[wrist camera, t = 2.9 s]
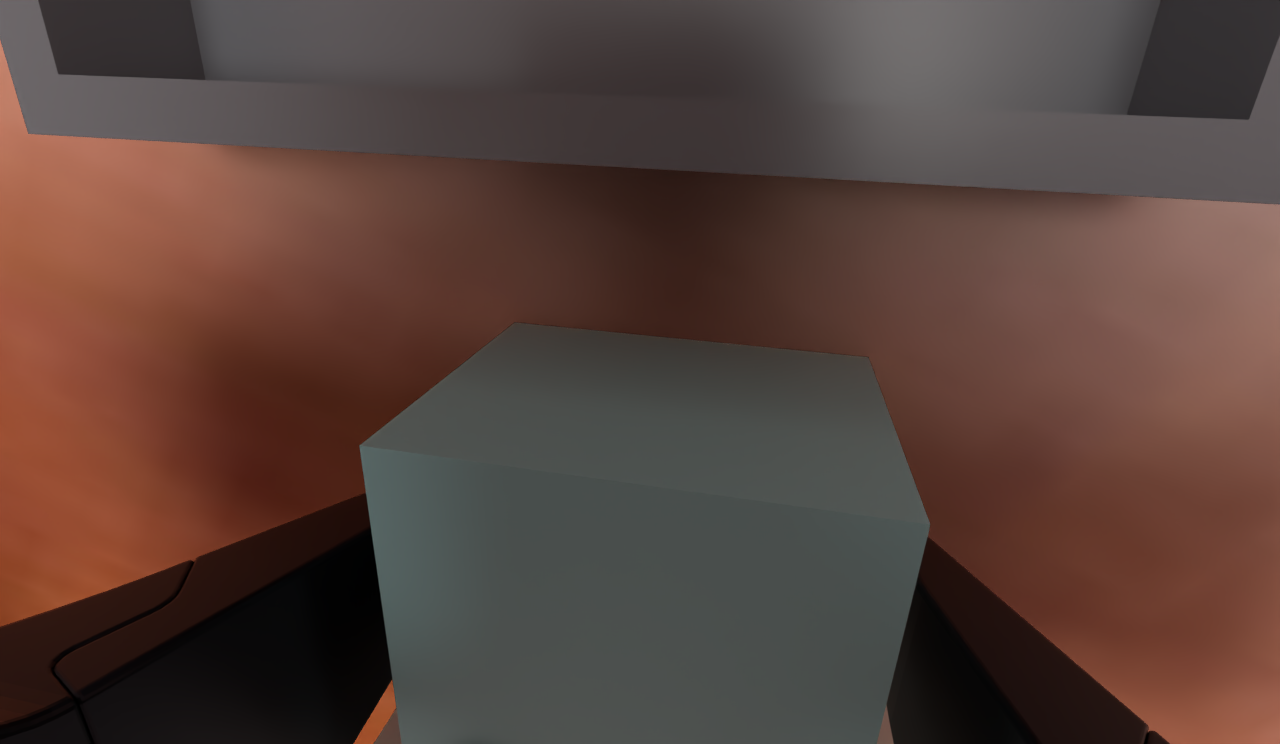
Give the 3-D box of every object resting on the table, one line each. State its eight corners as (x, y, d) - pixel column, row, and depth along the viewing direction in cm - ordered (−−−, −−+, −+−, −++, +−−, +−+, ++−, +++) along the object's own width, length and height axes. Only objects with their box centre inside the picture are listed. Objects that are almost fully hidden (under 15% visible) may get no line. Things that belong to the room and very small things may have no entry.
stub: (525, 566, 11) (399, 793, 8) (517, 320, 10) (349, 454, 6) (820, 614, 11) (844, 897, 7) (867, 354, 9) (934, 536, 5)
